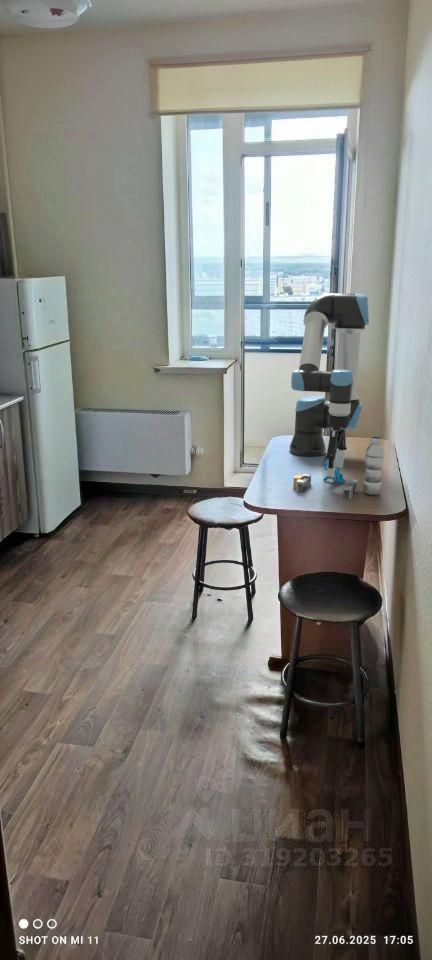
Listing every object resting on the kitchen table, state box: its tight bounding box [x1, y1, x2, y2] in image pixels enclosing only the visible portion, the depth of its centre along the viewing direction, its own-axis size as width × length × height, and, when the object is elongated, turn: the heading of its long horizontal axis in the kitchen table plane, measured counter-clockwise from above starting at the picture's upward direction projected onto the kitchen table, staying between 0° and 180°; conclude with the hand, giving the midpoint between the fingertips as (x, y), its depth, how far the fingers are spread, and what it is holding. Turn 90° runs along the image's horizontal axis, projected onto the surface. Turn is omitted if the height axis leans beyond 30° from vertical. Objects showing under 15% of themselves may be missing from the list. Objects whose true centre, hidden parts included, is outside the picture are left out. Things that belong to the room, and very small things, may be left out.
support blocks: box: [292, 473, 358, 500], centre depth 237 cm, size 10×21×4 cm, turn 67°
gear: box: [322, 460, 345, 485], centre depth 247 cm, size 11×6×10 cm
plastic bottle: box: [362, 436, 386, 496], centre depth 232 cm, size 6×7×20 cm
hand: (334, 471), depth 246 cm, fingers open, 13 cm apart
